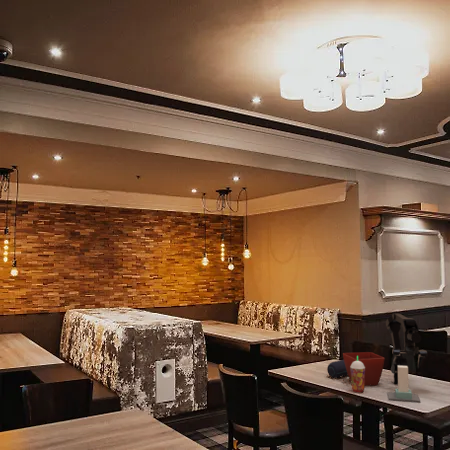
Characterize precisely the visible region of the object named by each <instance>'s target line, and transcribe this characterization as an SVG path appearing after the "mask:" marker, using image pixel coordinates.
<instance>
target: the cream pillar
mask: <svg viewBox="0 0 450 450" xmlns="http://www.w3.org/2000/svg"><path fill="white" fill-rule="evenodd" d="M397 389H398V391H399V392H409V390H410V389H409V366H408V367H407V366H399V365H398V384H397Z"/></svg>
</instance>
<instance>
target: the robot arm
mask: <svg viewBox="0 0 450 450" xmlns="http://www.w3.org/2000/svg"><path fill="white" fill-rule="evenodd" d="M385 326H386V328H387V331H388V332H389V333H390V336H391V342H392V355H393V356H394V358H393V360H392V365H391V368H390V373H392V375H393V384H394V385H398V365H399V366H407V367H408V368H409V364H408V361H407V358H405V357H404V355H406V356H413V357H414V356H417V358H418V359H417V369H420V366H421V364H422V363H421V362H422V361H423V359H426V358H427V357H428V351H427V350H425V349H419V346H416V344H419V343H420V342H422V336H421V334H420V333H419V331H420V327H419V326H418V323H417V321H416V319H415V318H412V317H411V318H410V317H409V318H408V317H406V316H405V315H402V313H400V312H399V313H398V312H397V313H396V312H395V313H392V314H391V315H390V316H388V317H387V319H386V321H385ZM401 328H402V329H403V330H402V332H403V347H404V348H403V350H402V345H401V339H400V338H401V337H400V331H401Z"/></svg>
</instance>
